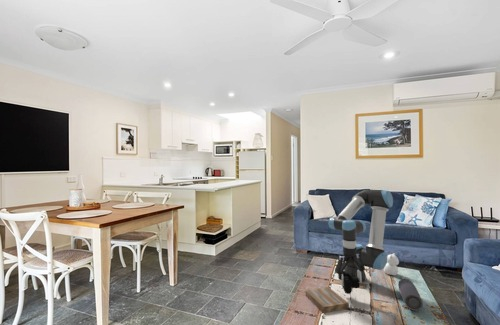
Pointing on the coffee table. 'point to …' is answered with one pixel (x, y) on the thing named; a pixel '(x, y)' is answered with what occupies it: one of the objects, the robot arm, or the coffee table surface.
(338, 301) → the wooden pallet
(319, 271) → the coffee table surface
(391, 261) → the cat figurine
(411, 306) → the bluetooth speaker
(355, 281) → the film camera
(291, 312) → the coffee table surface
